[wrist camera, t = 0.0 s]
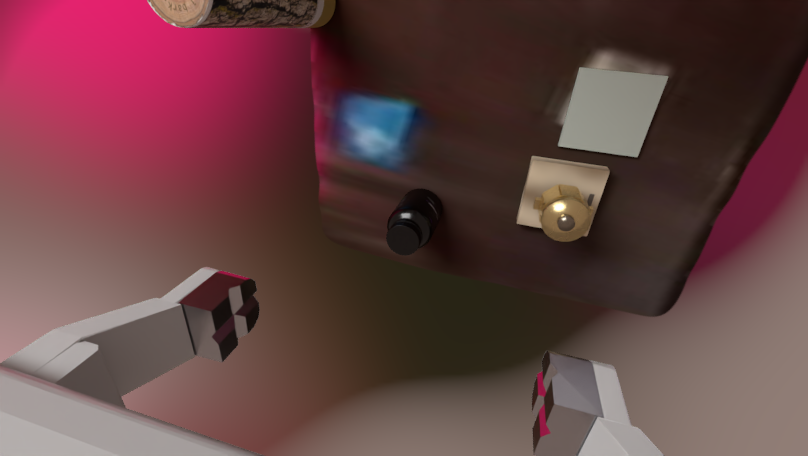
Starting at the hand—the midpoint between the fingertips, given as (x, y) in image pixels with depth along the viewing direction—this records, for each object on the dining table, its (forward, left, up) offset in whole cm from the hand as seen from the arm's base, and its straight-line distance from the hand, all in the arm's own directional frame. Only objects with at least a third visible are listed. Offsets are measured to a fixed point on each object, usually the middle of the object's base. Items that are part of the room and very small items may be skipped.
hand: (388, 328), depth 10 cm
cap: (+13, +12, -44) cm, 48 cm away
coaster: (+1, +15, -48) cm, 50 cm away
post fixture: (+13, +12, -48) cm, 51 cm away
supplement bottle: (+19, -8, -48) cm, 53 cm away
